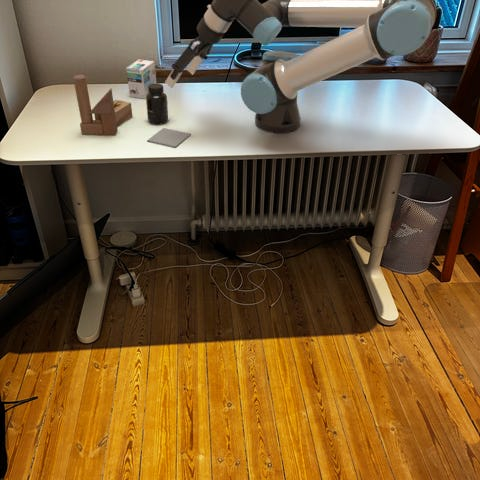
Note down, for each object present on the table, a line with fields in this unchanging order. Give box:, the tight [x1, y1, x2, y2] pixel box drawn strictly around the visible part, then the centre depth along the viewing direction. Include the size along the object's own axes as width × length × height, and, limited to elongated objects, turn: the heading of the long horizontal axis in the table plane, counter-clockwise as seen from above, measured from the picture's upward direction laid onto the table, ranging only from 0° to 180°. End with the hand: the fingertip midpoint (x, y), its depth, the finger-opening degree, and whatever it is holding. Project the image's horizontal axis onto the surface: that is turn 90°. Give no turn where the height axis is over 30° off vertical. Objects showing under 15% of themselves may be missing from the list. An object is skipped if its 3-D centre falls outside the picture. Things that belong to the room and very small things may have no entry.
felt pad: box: [146, 127, 192, 149], centre depth 157 cm, size 10×10×1 cm
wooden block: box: [72, 74, 118, 136], centre depth 154 cm, size 4×11×18 cm, turn 87°
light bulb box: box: [125, 59, 157, 100], centre depth 184 cm, size 11×7×11 cm, turn 164°
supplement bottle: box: [145, 82, 169, 125], centre depth 164 cm, size 7×7×12 cm
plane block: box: [94, 99, 134, 128], centre depth 164 cm, size 6×12×8 cm, turn 157°
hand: (179, 78), depth 157 cm, fingers open, 13 cm apart
